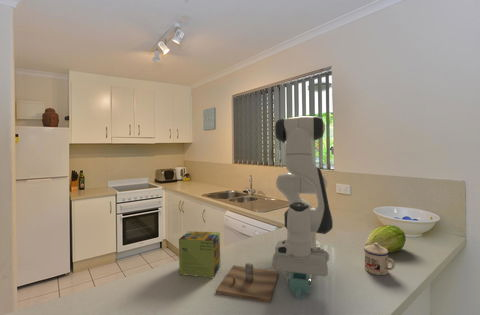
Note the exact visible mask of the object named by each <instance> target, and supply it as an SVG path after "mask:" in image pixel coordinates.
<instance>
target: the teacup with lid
mask: <svg viewBox="0 0 480 315" xmlns="http://www.w3.org/2000/svg"><path fill="white" fill-rule="evenodd" d="M363 250H364V269H365V271H366V272H368V273H370V274H373V275H377V276H386V275H387V274H388V273H389V271H393V270H394V269H395V266H396V263H395V261H394V260H393V258H390V257H389V253H390V252H388V250H387V249H386V248H384V247H381V246H380V245H379V244H378V243H374V244H373V245H368V246H365V245H364V248H363ZM389 262H390V263H391V267H389Z"/></svg>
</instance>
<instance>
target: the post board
mask: <svg viewBox="0 0 480 315" xmlns="http://www.w3.org/2000/svg"><path fill="white" fill-rule="evenodd" d="M279 275H280V271H279V270H274V269H267V268H265V269H264V268H256V267H254V264H253V263H251V262H248V263H245V265H244V266H243V265H232V267H231V268H230V270H229V271H228V273H227V274H226V275H225V277H224V278H223V279H222V281H221V282H220V283H219V285H218V286H217V288H216V289H215V294H217V293H220V294H219V295H222V294H225V295H224V296H228V295H230V296H229V297H234V296H235V298H240V297H241V298H240V299H248V300H252V301H258V302H264V303H271V301H272V298H273V294H274V291H275V287H276V285H277V282H278V279H279Z"/></svg>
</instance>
